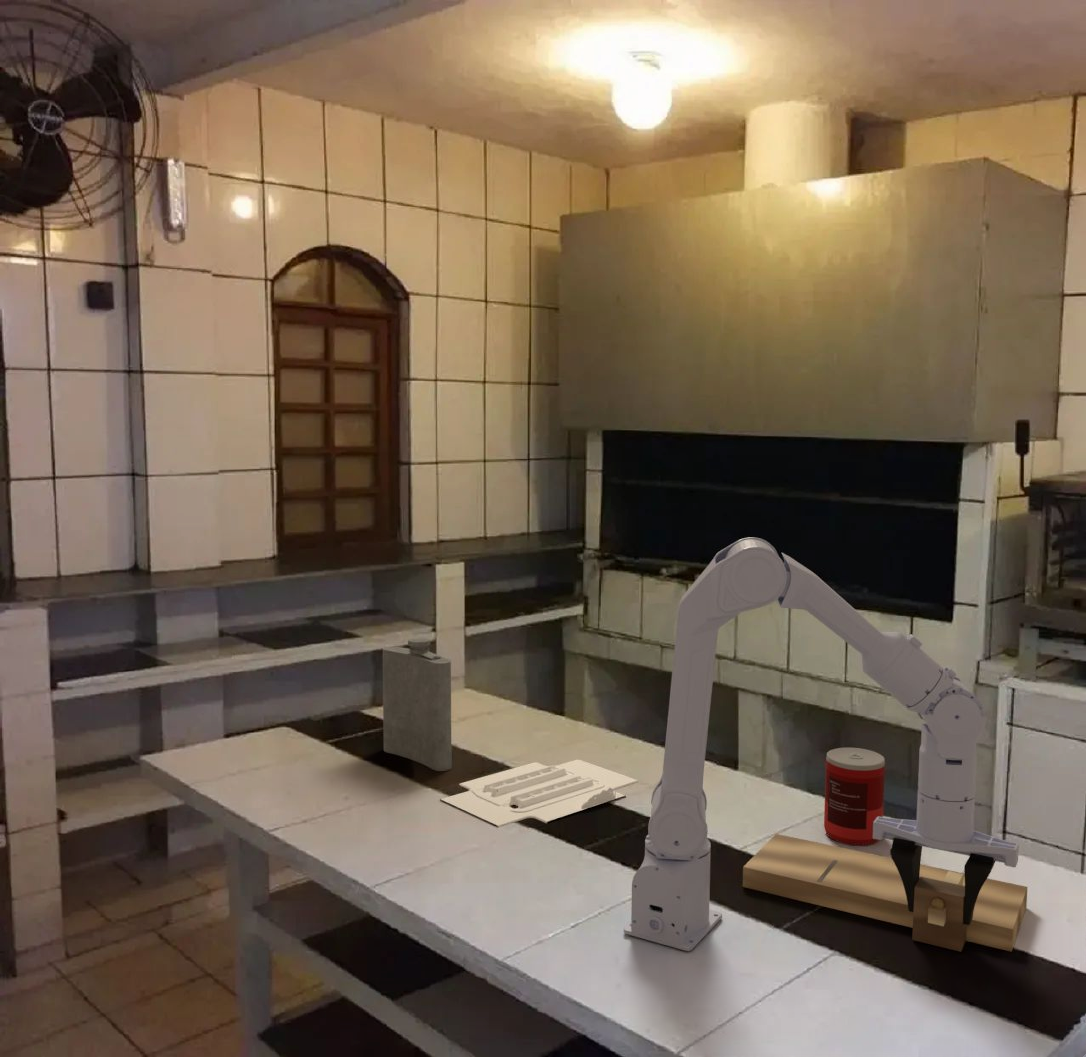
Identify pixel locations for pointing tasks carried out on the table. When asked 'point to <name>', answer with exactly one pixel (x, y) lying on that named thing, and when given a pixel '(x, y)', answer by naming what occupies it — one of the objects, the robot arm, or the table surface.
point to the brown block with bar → (940, 912)
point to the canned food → (853, 794)
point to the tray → (539, 792)
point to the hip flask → (417, 704)
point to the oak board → (874, 887)
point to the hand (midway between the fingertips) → (940, 914)
